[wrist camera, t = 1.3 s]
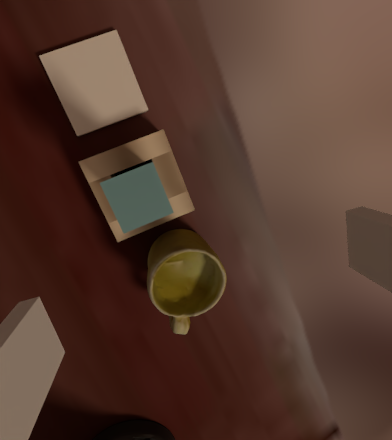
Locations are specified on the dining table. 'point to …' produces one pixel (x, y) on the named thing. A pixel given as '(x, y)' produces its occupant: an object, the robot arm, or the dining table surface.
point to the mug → (184, 277)
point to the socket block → (130, 156)
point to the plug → (137, 197)
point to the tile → (94, 82)
